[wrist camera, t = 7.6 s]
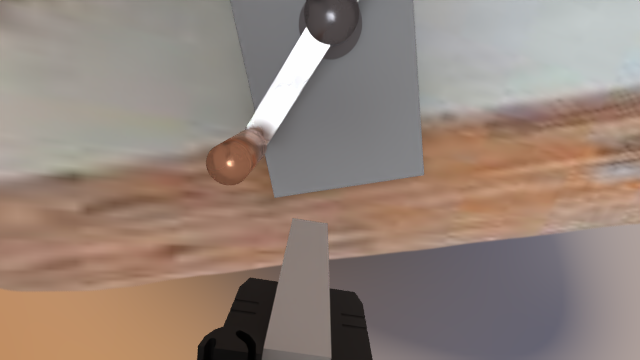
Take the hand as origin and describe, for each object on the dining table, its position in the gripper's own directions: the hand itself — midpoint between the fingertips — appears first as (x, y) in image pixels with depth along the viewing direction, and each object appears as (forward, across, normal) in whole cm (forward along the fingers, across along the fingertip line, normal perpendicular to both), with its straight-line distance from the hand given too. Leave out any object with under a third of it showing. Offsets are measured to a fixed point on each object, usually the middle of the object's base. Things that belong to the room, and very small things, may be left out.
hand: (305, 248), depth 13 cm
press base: (+22, 0, +8) cm, 24 cm away
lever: (+20, -2, +9) cm, 22 cm away
